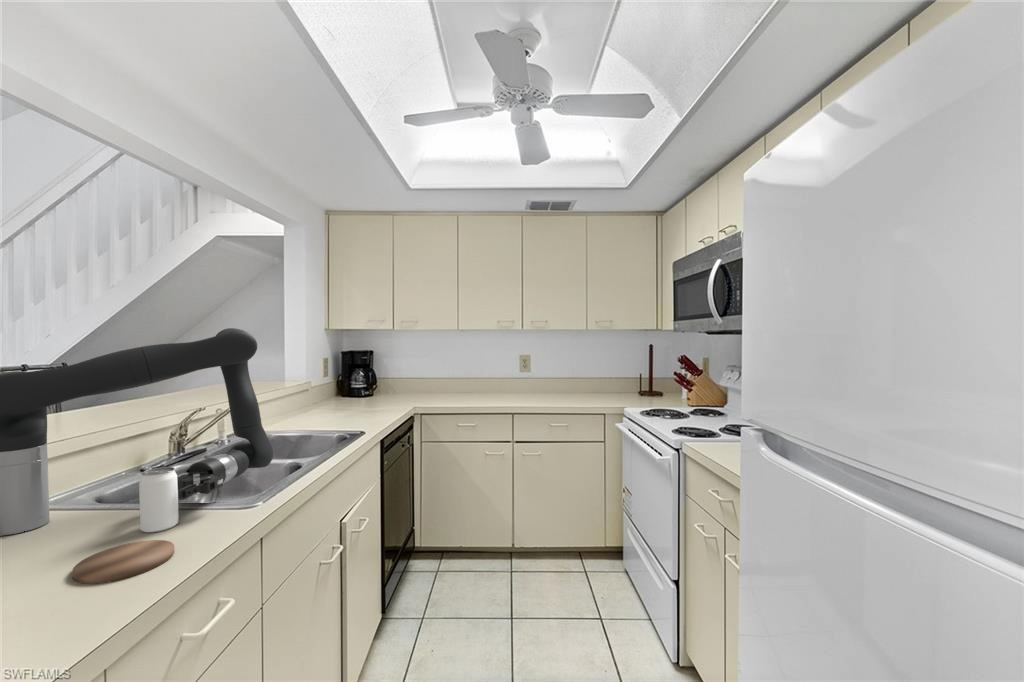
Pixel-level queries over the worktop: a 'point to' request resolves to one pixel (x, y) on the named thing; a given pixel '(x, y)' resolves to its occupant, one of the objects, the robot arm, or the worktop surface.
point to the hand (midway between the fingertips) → (160, 495)
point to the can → (158, 499)
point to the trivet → (123, 561)
